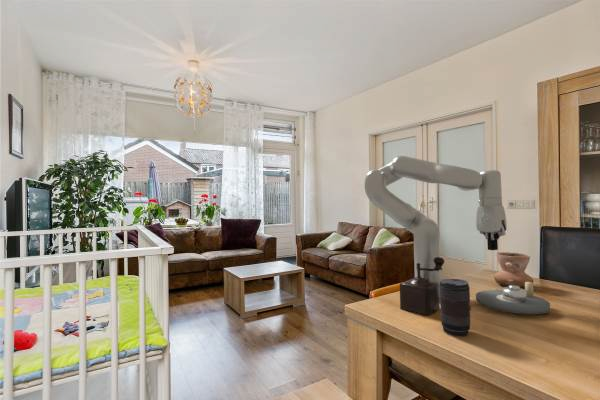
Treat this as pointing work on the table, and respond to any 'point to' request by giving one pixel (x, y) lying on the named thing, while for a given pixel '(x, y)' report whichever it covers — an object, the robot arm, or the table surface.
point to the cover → (514, 294)
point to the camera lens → (455, 306)
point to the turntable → (529, 307)
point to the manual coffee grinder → (421, 292)
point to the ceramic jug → (512, 269)
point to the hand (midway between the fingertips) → (492, 249)
